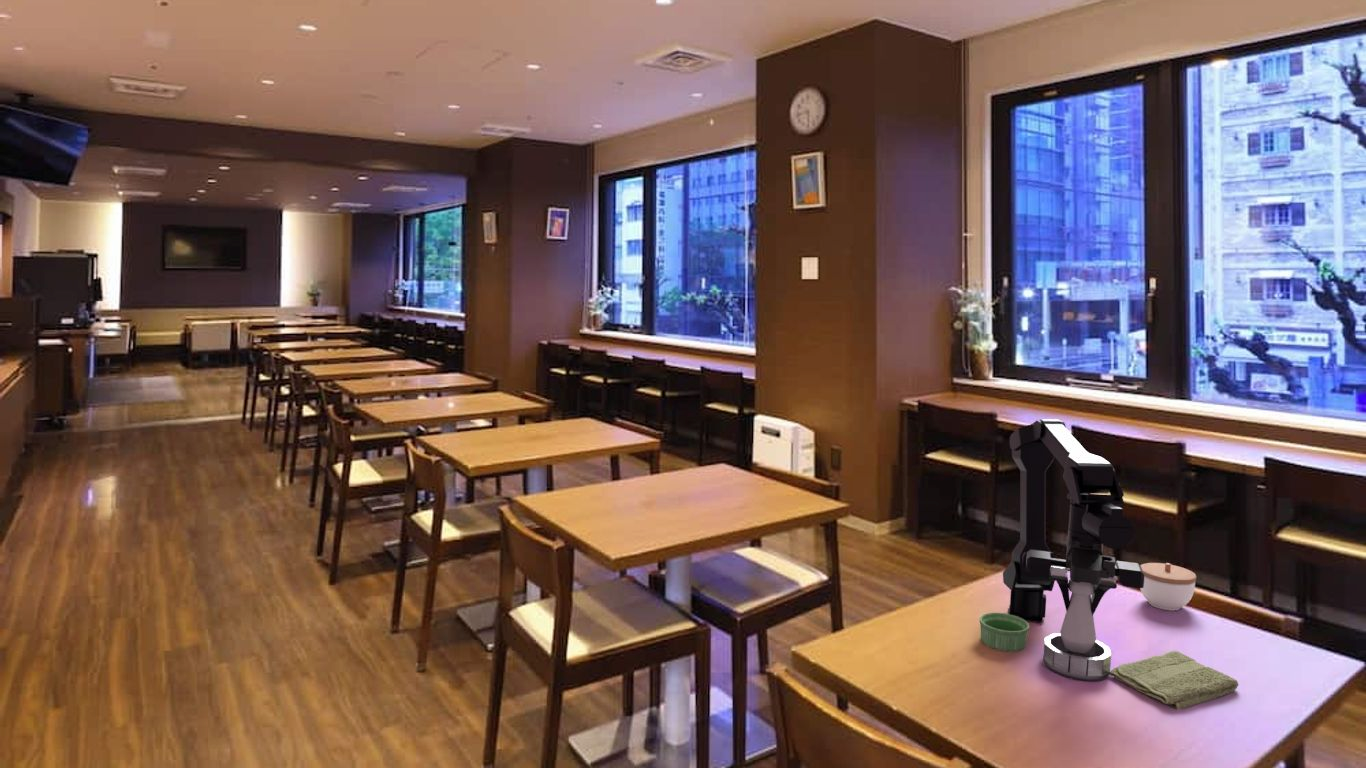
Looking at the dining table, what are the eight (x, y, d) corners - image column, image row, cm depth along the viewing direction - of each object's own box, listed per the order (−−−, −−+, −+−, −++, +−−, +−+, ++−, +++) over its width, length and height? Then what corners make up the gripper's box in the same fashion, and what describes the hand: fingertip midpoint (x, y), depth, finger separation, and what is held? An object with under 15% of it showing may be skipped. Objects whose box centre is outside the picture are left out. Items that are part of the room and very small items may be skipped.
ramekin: (977, 648, 155) (978, 626, 155) (979, 630, 164) (980, 609, 163) (1028, 657, 152) (1029, 634, 151) (1027, 638, 160) (1029, 616, 160)
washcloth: (1104, 678, 145) (1105, 661, 144) (1174, 662, 151) (1175, 646, 151) (1172, 715, 133) (1174, 696, 132) (1245, 695, 139) (1246, 678, 139)
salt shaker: (1087, 642, 150) (1093, 574, 148) (1100, 656, 144) (1105, 586, 143) (1054, 640, 151) (1059, 572, 149) (1065, 654, 145) (1071, 584, 143)
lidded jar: (1129, 604, 178) (1132, 562, 177) (1146, 592, 185) (1149, 552, 184) (1184, 619, 170) (1188, 576, 169) (1199, 606, 177) (1203, 564, 176)
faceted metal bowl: (1043, 674, 145) (1044, 652, 145) (1042, 649, 155) (1043, 629, 155) (1112, 686, 141) (1114, 664, 140) (1106, 660, 151) (1108, 639, 150)
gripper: (1029, 536, 141) (1023, 621, 143) (1152, 551, 134) (1143, 641, 136) (1029, 518, 151) (1023, 599, 153) (1143, 532, 144) (1135, 616, 146)
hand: (1079, 613), depth 147 cm, fingers closed on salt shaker, 3 cm apart
